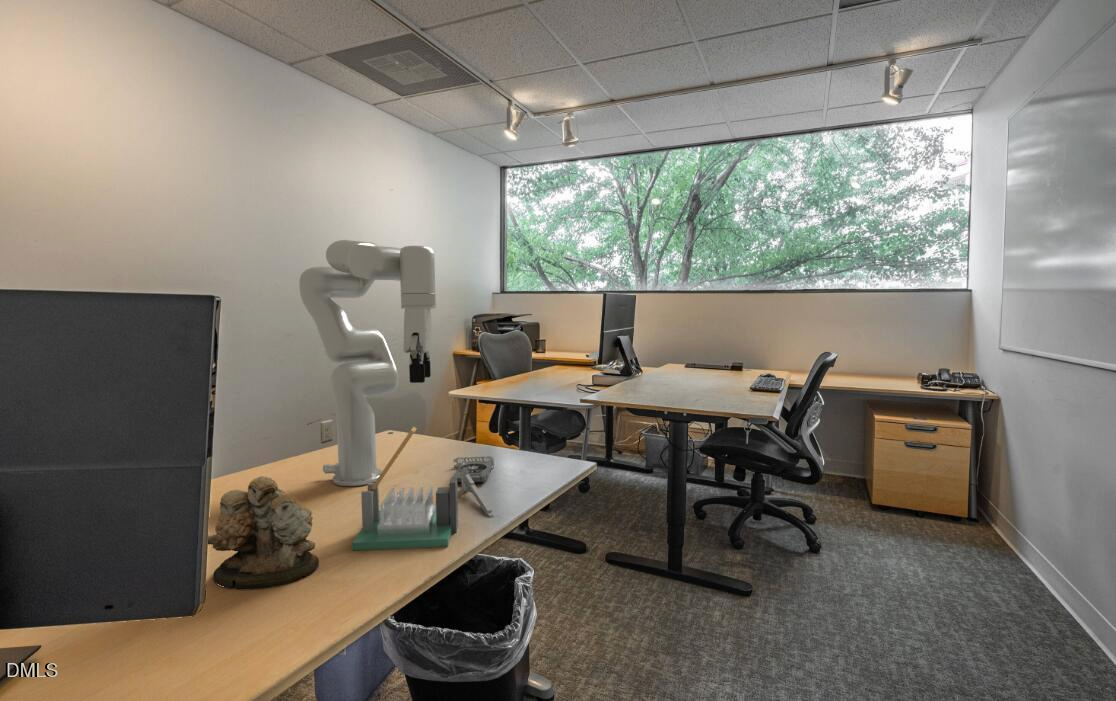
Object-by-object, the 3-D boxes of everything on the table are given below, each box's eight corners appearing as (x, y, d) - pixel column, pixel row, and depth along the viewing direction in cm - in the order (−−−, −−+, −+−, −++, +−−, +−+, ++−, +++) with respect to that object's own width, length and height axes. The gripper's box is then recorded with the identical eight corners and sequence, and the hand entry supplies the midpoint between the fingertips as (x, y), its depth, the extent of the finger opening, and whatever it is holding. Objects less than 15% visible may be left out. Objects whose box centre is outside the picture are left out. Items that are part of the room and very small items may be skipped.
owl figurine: (191, 595, 86) (184, 493, 85) (225, 561, 98) (219, 471, 96) (308, 585, 89) (303, 486, 87) (328, 553, 100) (323, 465, 99)
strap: (369, 499, 107) (363, 496, 107) (372, 494, 110) (368, 491, 110) (415, 432, 107) (410, 429, 107) (417, 429, 110) (412, 426, 110)
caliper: (461, 490, 135) (460, 466, 134) (465, 489, 135) (465, 465, 135) (489, 518, 117) (488, 491, 116) (494, 517, 117) (493, 490, 117)
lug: (436, 533, 109) (435, 483, 108) (439, 525, 112) (437, 477, 111) (456, 532, 109) (455, 482, 108) (458, 525, 113) (457, 477, 112)
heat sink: (377, 535, 104) (376, 505, 104) (389, 515, 114) (388, 488, 114) (429, 533, 105) (428, 503, 105) (436, 513, 115) (435, 486, 115)
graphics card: (454, 456, 154) (495, 455, 153) (454, 469, 154) (495, 467, 154) (440, 475, 137) (487, 474, 137) (441, 489, 137) (487, 488, 137)
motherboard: (352, 550, 101) (350, 502, 100) (374, 517, 117) (372, 475, 116) (447, 546, 103) (446, 498, 102) (456, 513, 119) (455, 472, 118)
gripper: (408, 302, 127) (410, 375, 129) (392, 301, 110) (395, 386, 111) (440, 302, 128) (442, 374, 129) (429, 301, 111) (431, 385, 112)
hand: (420, 379), depth 120 cm, fingers open, 7 cm apart
